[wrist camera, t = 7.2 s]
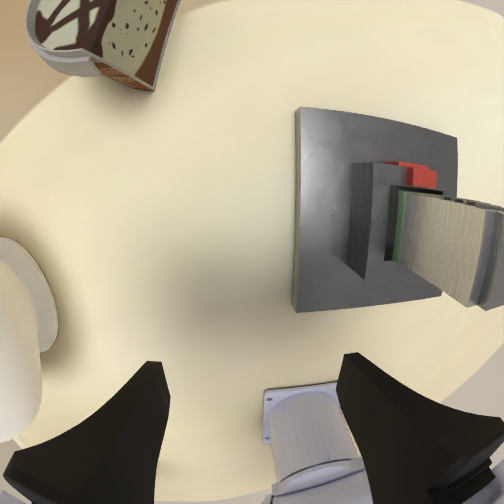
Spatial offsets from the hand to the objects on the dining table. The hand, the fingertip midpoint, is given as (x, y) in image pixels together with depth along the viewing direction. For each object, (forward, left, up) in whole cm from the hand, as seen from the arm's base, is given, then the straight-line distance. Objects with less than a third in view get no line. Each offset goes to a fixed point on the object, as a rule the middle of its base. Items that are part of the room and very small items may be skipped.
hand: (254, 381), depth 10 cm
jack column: (+5, -11, -5) cm, 13 cm away
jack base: (+5, -11, -10) cm, 16 cm away
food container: (+19, +8, -11) cm, 23 cm away
